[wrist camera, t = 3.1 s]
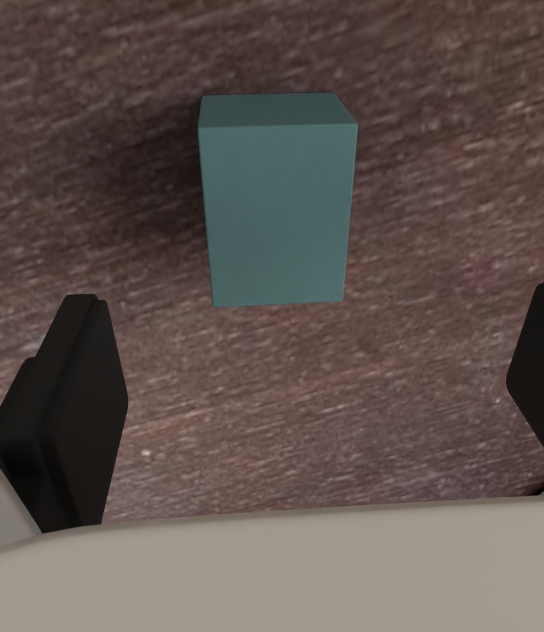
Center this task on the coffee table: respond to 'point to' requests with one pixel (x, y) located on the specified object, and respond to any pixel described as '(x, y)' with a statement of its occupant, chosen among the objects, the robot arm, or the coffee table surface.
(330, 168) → the teal rectangular block
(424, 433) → the coffee table surface
